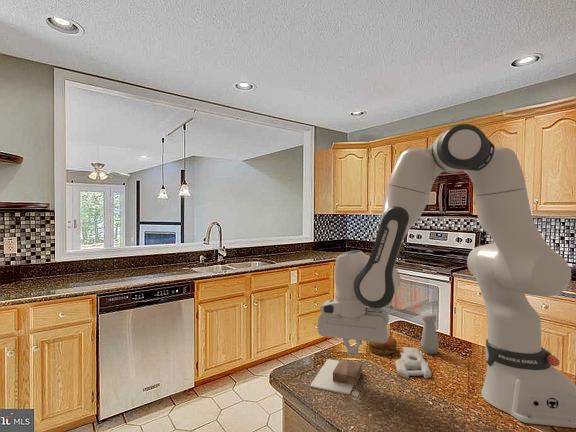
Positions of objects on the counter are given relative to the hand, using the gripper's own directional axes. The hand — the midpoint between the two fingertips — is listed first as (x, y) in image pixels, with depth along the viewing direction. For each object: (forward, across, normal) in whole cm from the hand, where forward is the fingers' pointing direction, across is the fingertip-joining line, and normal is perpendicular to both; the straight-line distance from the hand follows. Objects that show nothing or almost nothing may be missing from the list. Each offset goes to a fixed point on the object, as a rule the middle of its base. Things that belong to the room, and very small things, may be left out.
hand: (352, 353), depth 94 cm
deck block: (+5, -2, +1) cm, 6 cm away
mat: (+7, +5, +1) cm, 8 cm away
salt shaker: (+8, -20, -28) cm, 35 cm away
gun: (+8, -15, -14) cm, 22 cm away
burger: (+8, -5, -23) cm, 25 cm away
